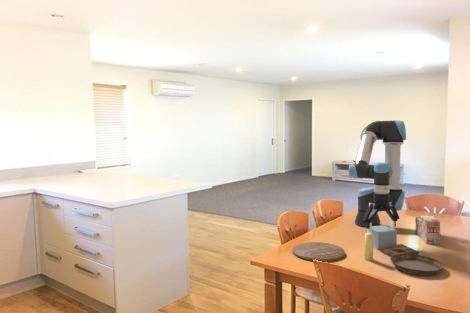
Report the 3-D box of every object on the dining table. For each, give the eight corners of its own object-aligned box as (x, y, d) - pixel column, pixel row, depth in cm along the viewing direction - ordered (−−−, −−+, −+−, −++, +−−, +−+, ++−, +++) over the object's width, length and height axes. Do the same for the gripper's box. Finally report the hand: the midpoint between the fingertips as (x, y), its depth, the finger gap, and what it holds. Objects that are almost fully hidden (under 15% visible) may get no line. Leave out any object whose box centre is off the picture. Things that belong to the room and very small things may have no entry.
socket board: (380, 251, 182) (380, 246, 182) (401, 248, 185) (401, 244, 185) (396, 259, 171) (396, 254, 171) (418, 256, 174) (418, 251, 174)
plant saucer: (426, 259, 171) (426, 252, 171) (454, 277, 151) (454, 269, 150) (382, 260, 170) (382, 253, 170) (404, 278, 150) (404, 270, 150)
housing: (365, 243, 195) (365, 226, 195) (383, 241, 198) (383, 225, 197) (378, 249, 185) (378, 232, 185) (396, 247, 188) (396, 230, 187)
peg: (363, 258, 173) (363, 233, 172) (369, 257, 174) (370, 232, 173) (367, 261, 170) (368, 235, 169) (374, 260, 170) (374, 234, 170)
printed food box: (415, 232, 214) (415, 211, 213) (426, 233, 213) (427, 212, 212) (426, 244, 193) (427, 220, 192) (439, 244, 192) (440, 221, 191)
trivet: (283, 249, 188) (282, 246, 188) (323, 243, 198) (323, 239, 198) (311, 266, 165) (311, 262, 165) (356, 257, 175) (356, 253, 175)
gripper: (364, 195, 183) (363, 237, 184) (407, 192, 189) (406, 234, 190) (355, 193, 190) (355, 233, 191) (397, 190, 196) (396, 230, 198)
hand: (380, 234), depth 191 cm, fingers open, 13 cm apart
